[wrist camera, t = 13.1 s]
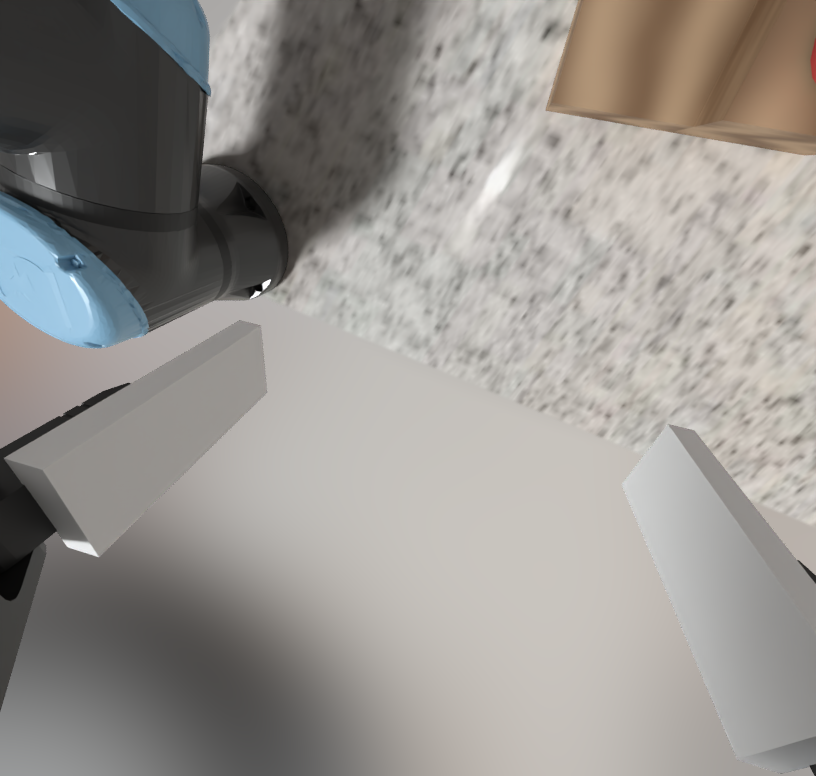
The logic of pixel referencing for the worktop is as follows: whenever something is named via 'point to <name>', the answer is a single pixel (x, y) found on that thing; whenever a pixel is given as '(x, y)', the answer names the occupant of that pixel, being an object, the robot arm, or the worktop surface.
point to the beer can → (813, 62)
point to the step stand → (695, 69)
